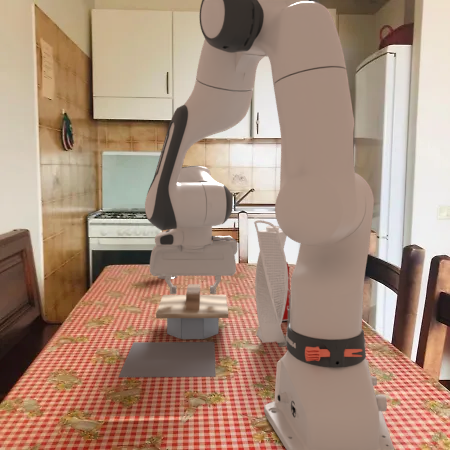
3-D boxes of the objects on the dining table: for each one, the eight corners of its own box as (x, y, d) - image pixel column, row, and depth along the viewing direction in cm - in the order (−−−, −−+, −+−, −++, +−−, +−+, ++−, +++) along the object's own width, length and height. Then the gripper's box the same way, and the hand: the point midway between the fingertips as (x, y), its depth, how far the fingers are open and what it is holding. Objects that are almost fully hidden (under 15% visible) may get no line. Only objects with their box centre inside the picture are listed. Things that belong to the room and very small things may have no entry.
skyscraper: (259, 350, 105) (261, 222, 102) (248, 337, 113) (249, 218, 110) (295, 346, 108) (298, 221, 104) (281, 334, 115) (284, 217, 112)
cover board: (228, 318, 107) (228, 298, 107) (156, 318, 107) (155, 298, 106) (225, 298, 123) (226, 281, 122) (162, 298, 122) (162, 281, 122)
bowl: (218, 340, 110) (218, 315, 109) (165, 341, 109) (165, 315, 109) (217, 323, 122) (217, 300, 121) (170, 324, 121) (169, 300, 121)
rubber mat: (215, 378, 90) (215, 376, 90) (118, 379, 89) (118, 377, 89) (214, 344, 108) (214, 341, 108) (133, 344, 107) (133, 342, 107)
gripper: (236, 234, 116) (236, 290, 118) (151, 234, 116) (152, 290, 117) (238, 237, 110) (237, 297, 112) (148, 237, 109) (148, 297, 111)
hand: (193, 293), depth 114 cm, fingers open, 8 cm apart
